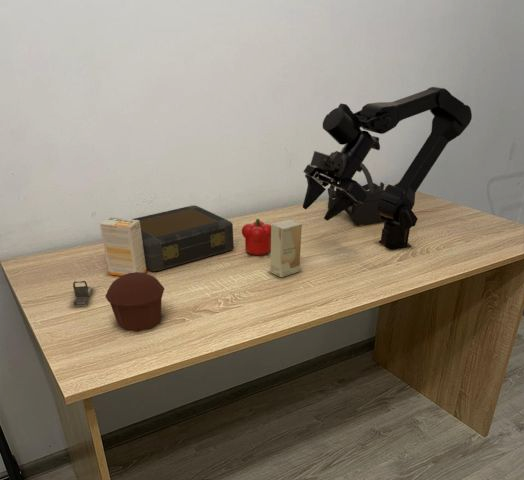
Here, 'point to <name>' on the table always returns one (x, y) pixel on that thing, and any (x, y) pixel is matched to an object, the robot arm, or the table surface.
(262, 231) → the red pepper
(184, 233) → the cash box
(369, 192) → the virtual reality headset
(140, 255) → the supplement box
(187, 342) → the table surface
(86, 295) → the strap clip
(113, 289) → the muffin
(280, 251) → the cosmetic box
